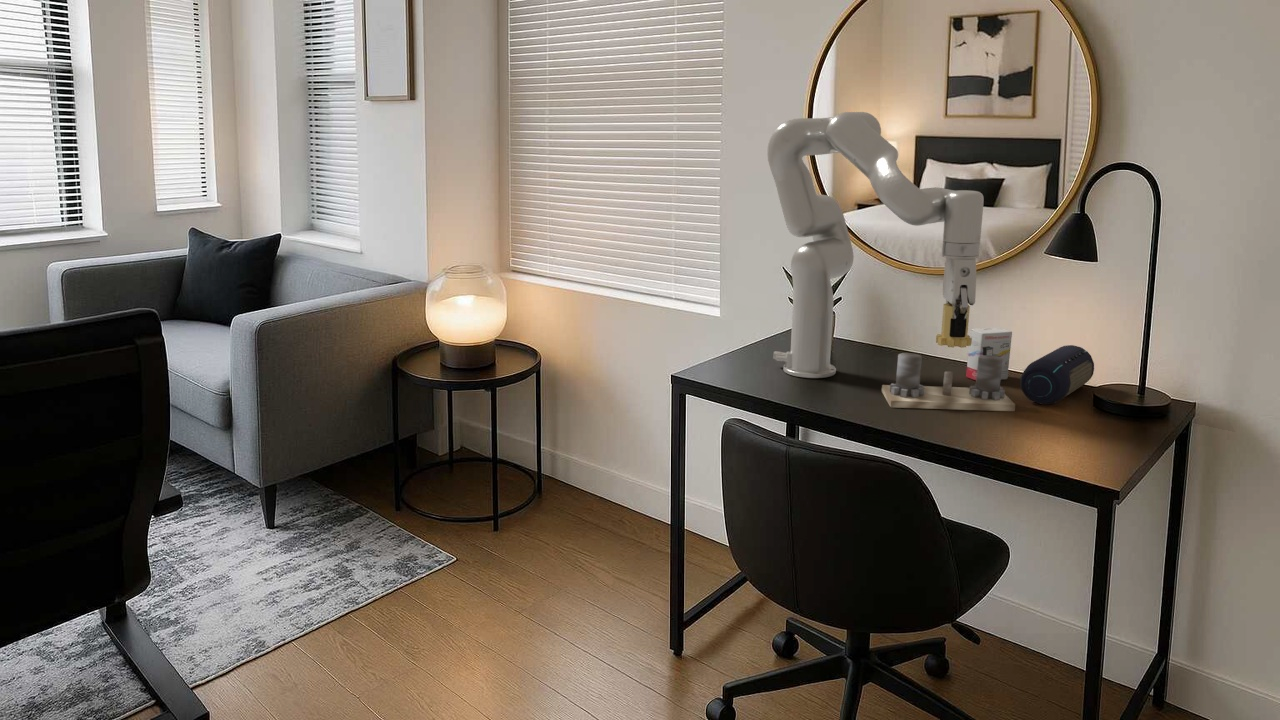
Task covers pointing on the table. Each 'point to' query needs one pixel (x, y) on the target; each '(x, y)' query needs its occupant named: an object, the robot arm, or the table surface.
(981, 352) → the ink box
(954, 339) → the gear
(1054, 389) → the portable speaker
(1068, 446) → the table surface
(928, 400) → the board
